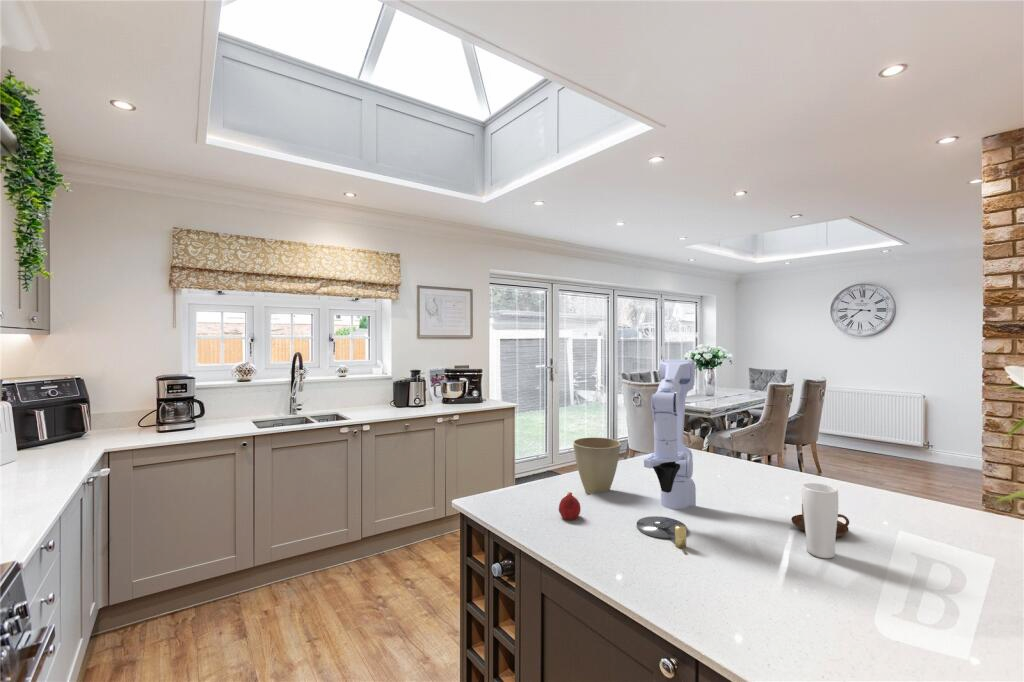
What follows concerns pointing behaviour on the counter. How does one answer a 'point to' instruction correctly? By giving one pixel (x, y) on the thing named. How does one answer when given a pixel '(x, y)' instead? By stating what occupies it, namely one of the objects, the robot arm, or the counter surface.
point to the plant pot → (596, 462)
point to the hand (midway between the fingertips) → (666, 491)
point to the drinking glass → (820, 518)
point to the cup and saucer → (841, 527)
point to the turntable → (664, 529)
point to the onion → (569, 507)
